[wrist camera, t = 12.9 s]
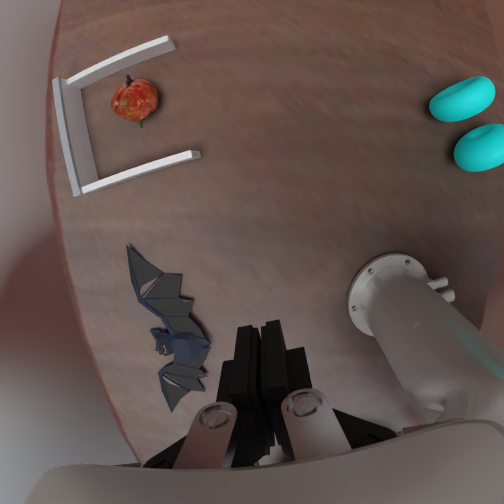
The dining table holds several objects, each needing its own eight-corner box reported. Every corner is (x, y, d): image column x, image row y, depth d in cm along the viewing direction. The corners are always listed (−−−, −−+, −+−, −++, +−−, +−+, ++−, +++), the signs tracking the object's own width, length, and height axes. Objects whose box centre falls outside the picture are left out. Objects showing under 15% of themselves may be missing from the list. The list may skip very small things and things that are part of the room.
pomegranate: (169, 118, 36) (165, 65, 30) (149, 142, 33) (141, 84, 27) (131, 115, 37) (124, 65, 30) (109, 138, 33) (98, 84, 27)
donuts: (457, 80, 31) (500, 68, 22) (488, 141, 33) (532, 143, 24) (412, 107, 33) (453, 96, 23) (446, 172, 35) (491, 179, 26)
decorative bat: (223, 426, 44) (165, 420, 45) (227, 408, 48) (172, 404, 49) (189, 245, 35) (115, 249, 36) (198, 235, 39) (130, 240, 40)
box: (174, 44, 32) (162, 29, 26) (201, 157, 36) (191, 157, 31) (74, 86, 33) (52, 80, 28) (95, 191, 37) (74, 197, 32)
